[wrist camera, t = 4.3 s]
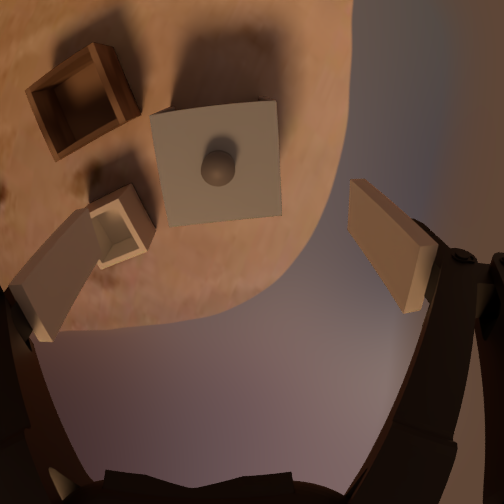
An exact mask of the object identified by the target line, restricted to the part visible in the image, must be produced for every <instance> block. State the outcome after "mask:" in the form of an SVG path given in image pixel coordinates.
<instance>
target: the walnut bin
mask: <svg viewBox="0 0 504 504" xmlns="http://www.w3.org/2000/svg"><path fill="white" fill-rule="evenodd" d="M25 93H26V95H27V98H28V100H29V103H30V106H31V108H32V111H33V113H34V115H35V118H36V120H37V123H38V125H39V127H40V130H41V132H42V134H43V137H44V139H45V141H46V143H47V145H48V148H49V150H50V152H51V154H52V156H53V158H54V160H55V162H57V161H59V160H61V159H62V158H64V157H66V156H68V155H69V154H71V153H73V152H75V151H76V150H78V149H80V148H82V147H83V146H85V145H87V144H88V143H90V142H92V141H93V140H95V139H97V138H99V137H100V136H102V135H104V134H106V133H108V132H109V131H111V130H113V129H115V128H117V127H119V126H121V125H122V124H124V123H126V122H128V121H130V120H132V119H134V118H136V117H138V116H140V115H141V113H140V110H139V108H138V106H137V103H136V101H135V99H134V96H133V94H132V92H131V89H130V87H129V84H128V82H127V80H126V77H125V75H124V72H123V70H122V68H121V65H120V63H119V60H118V58H117V55H116V53H115V50H114V48H113V47H111V46H107V45H103V44H99V43H94V42H93V43H91V44H90V45H88V46H86V47H85V48H83V49H82V50H80V51H78V52H77V53H75V54H74V55H72V56H71V57H69V58H68V59H66V60H65V61H63V62H62V63H61V64H59V65H58V66H56V67H55V68H54V69H52V70H51V71H49V72H48V73H47V74H45V75H44V76H43V77H42V78H40V79H39V80H38V81H36V82H35V83H34V84H33V85H31V86H30V87H29V88H28V89H26V90H25Z"/></svg>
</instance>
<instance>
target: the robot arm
mask: <svg viewBox="0 0 504 504" xmlns="http://www.w3.org/2000/svg"><path fill="white" fill-rule="evenodd" d="M347 229H348V231H349V233H350V234H351V235H352V237H353V238H354V239H355V241H356V242H357V244H358V245H359V247H360V248H361V250H362V251H363V253H364V254H365V256H366V257H367V258H368V260H369V261H370V263H371V264H372V266H373V267H374V269H375V270H376V272H377V273H378V275H379V276H380V278H381V279H382V281H383V282H384V284H385V285H386V287H387V289H388V290H389V291H390V293H391V295H392V296H393V298H394V300H395V301H396V303H397V304H398V306H399V308H400V309H401V311H402V312H403V314H404V313H409V312H414V311H418V310H421V307H422V304H423V301H424V297H425V298H426V299H427V300H428V302H429V303H430V305H429V308H428V311H427V313H426V317H425V319H424V322H423V325H422V330H421V333H420V337H419V339H418V343H417V345H416V348H415V352H414V354H413V357H412V360H411V362H410V365H409V368H408V371H407V373H406V376H405V378H404V381H403V383H402V385H401V388H400V390H399V393H398V395H397V398H396V400H395V402H394V404H393V407H392V409H391V411H390V413H389V416H388V418H387V420H386V422H385V424H384V426H383V428H382V430H381V432H380V434H379V437H378V438H377V440H376V442H375V444H374V446H373V448H372V450H371V452H370V454H369V455H368V457H367V459H366V461H365V463H364V464H363V466H362V468H361V469H360V471H359V473H358V474H357V476H356V477H355V479H354V481H353V482H352V484H351V485H350V487H349V488H348V490H347V492H346V493H345V495H342V494H340V493H338V492H336V491H334V490H331V489H329V488H327V487H324V486H320V485H317V484H313V483H307V482H300V481H293V479H292V473H291V472H285V473H277V474H269V475H268V474H267V475H256V476H242V477H239V478H235V479H232V480H228V481H224V482H220V483H216V484H212V485H207V486H203V487H199V488H187V487H184V486H180V485H176V484H173V483H169V482H166V481H163V480H160V479H156V478H153V477H150V476H148V475H143V474H132V473H125V472H118V471H111V470H106V471H105V476H104V480H100V481H95V482H94V481H93V480H92V479H91V478H90V477H89V476H88V474H87V473H86V472H85V470H84V468H83V466H82V464H81V463H80V461H79V459H78V457H77V455H76V453H75V451H74V449H73V447H72V445H71V443H70V441H69V438H68V436H67V434H66V432H65V430H64V428H63V425H62V423H61V421H60V418H59V416H58V414H57V411H56V409H55V407H54V404H53V401H52V399H51V396H50V393H49V391H48V388H47V385H46V382H45V380H44V377H43V374H42V371H41V368H40V365H39V361H38V358H37V355H36V352H35V348H34V344H33V343H32V341H31V339H30V338H29V336H30V334H31V332H32V331H33V332H34V334H35V335H36V337H37V338H38V340H39V341H40V342H53V341H54V339H55V337H56V335H57V333H58V331H59V329H60V328H61V326H62V324H63V322H64V320H65V318H66V316H67V314H68V312H69V310H70V309H71V307H72V305H73V303H74V301H75V299H76V298H77V296H78V294H79V292H80V291H81V289H82V287H83V285H84V284H85V282H86V280H87V278H88V277H89V275H90V273H91V272H92V270H93V268H94V267H95V265H96V263H97V262H98V260H99V259H100V257H101V255H102V252H101V249H100V246H99V243H98V240H97V236H96V233H95V230H94V227H93V223H92V220H91V217H90V213H89V210H88V208H83V209H78V210H75V211H74V212H73V213H72V214H71V215H70V216H69V217H68V218H67V219H66V220H65V221H64V222H63V223H62V224H61V225H60V226H59V228H58V229H57V230H56V231H55V232H54V233H53V234H52V235H51V236H50V237H49V238H48V239H47V240H46V241H45V243H44V244H43V245H42V246H41V247H40V248H39V249H38V250H37V251H36V253H35V254H34V255H33V256H32V257H31V258H30V260H29V261H28V262H27V263H26V264H25V265H24V267H23V268H22V269H21V270H20V271H19V273H18V274H17V275H16V276H15V278H14V279H13V280H12V281H11V283H10V284H9V285H8V288H7V289H6V290H5V292H3V290H2V288H1V286H0V504H438V503H439V501H440V499H441V496H442V494H443V491H444V489H445V486H446V483H447V481H448V478H449V475H450V472H451V470H452V467H453V464H454V461H455V457H456V453H457V443H456V442H454V441H453V434H454V431H455V427H456V423H457V420H458V416H459V412H460V408H461V404H462V399H463V395H464V391H465V386H466V381H467V375H468V370H469V364H470V358H471V351H472V344H473V335H474V329H475V334H476V339H477V346H478V351H479V359H480V366H481V375H482V384H483V396H484V411H485V470H484V471H485V472H484V486H483V487H484V488H483V504H504V253H499V252H498V253H495V254H494V255H493V257H492V260H491V263H490V264H482V263H478V262H477V259H476V258H475V256H474V255H472V254H471V253H469V252H468V251H465V250H463V249H458V248H449V247H448V246H447V245H446V244H445V243H444V242H443V241H442V240H441V239H440V238H439V237H438V236H436V235H435V234H434V233H433V232H432V231H430V229H429V228H428V227H427V226H425V225H424V224H423V223H421V222H419V221H417V220H416V219H411V218H410V217H409V216H408V215H407V214H405V213H404V212H403V211H402V210H401V209H400V208H398V207H397V206H396V205H395V204H394V203H393V202H392V201H391V200H389V199H388V198H387V197H386V196H385V195H384V194H382V193H381V192H380V191H379V190H378V189H376V188H375V187H374V186H373V185H371V184H370V183H369V182H368V181H367V180H365V179H350V197H349V214H348V228H347Z"/></svg>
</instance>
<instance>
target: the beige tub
mask: <svg viewBox="0 0 504 504" xmlns="http://www.w3.org/2000/svg"><path fill="white" fill-rule="evenodd" d="M85 208H88V210H89V213H90V217H91V220H92V223H93V227H94V230H95V233H96V236H97V240H98V243H99V246H100V249H101V252H102V255H101V257H100V259H99V260H98V262H97V265H98V266H99V268H100V269H104V268H106V267H109V266H111V265H114V264H117V263H119V262H122V261H124V260H127V259H129V258H132V257H134V256H137V255H140V254H142V253H145V252H147V251H148V249H149V247H150V244H151V242H152V239H153V237H154V235H155V232H156V229H155V227H154V225H153V223H152V222H151V220H150V218H149V216H148V214H147V212H146V210H145V208H144V206H143V204H142V202H141V200H140V198H139V197H138V195H137V193H136V191H135V189H134V187H133V185H132V183H130V184H128V185H126V186H124V187H122V188H120V189H118V190H116V191H114V192H112V193H110V194H108V195H106V196H104V197H102V198H100V199H98V200H96V201H94V202H92V203H90V204H88V205H87V206H86V207H85Z"/></svg>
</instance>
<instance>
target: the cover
mask: <svg viewBox="0 0 504 504" xmlns="http://www.w3.org/2000/svg"><path fill="white" fill-rule="evenodd" d="M150 123H151V130H152V137H153V143H154V149H155V155H156V161H157V167H158V172H159V178H160V183H161V189H162V194H163V199H164V204H165V209H166V214H167V219H168V224H169V227H177V226H186V225H195V224H203V223H213V222H222V221H232V220H241V219H252V218H262V217H273V216H282V201H281V177H280V156H279V136H278V119H277V103H276V100H273V99H270V98H267V97H264V96H263V97H259V101H254V102H242V103H231V104H221V105H212V106H204V107H196V108H189V109H182V110H176V111H175V107H174V106H173V107H168V108H166V109H164V110H161V111H159V112H156V113H154V114H152V115H150Z"/></svg>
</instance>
